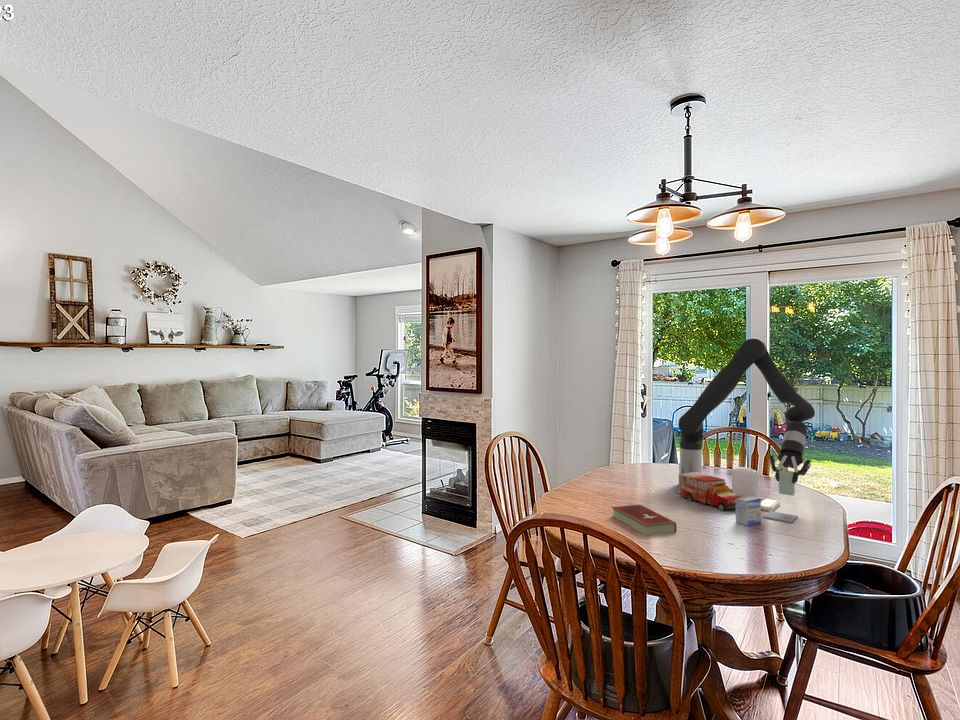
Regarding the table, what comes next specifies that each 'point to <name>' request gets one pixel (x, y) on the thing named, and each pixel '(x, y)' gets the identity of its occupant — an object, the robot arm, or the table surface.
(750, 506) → the medicine box
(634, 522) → the hardcover book
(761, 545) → the table surface
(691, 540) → the table surface
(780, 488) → the stub block
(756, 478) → the photo printer
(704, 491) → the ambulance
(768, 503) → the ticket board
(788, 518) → the stub pad
